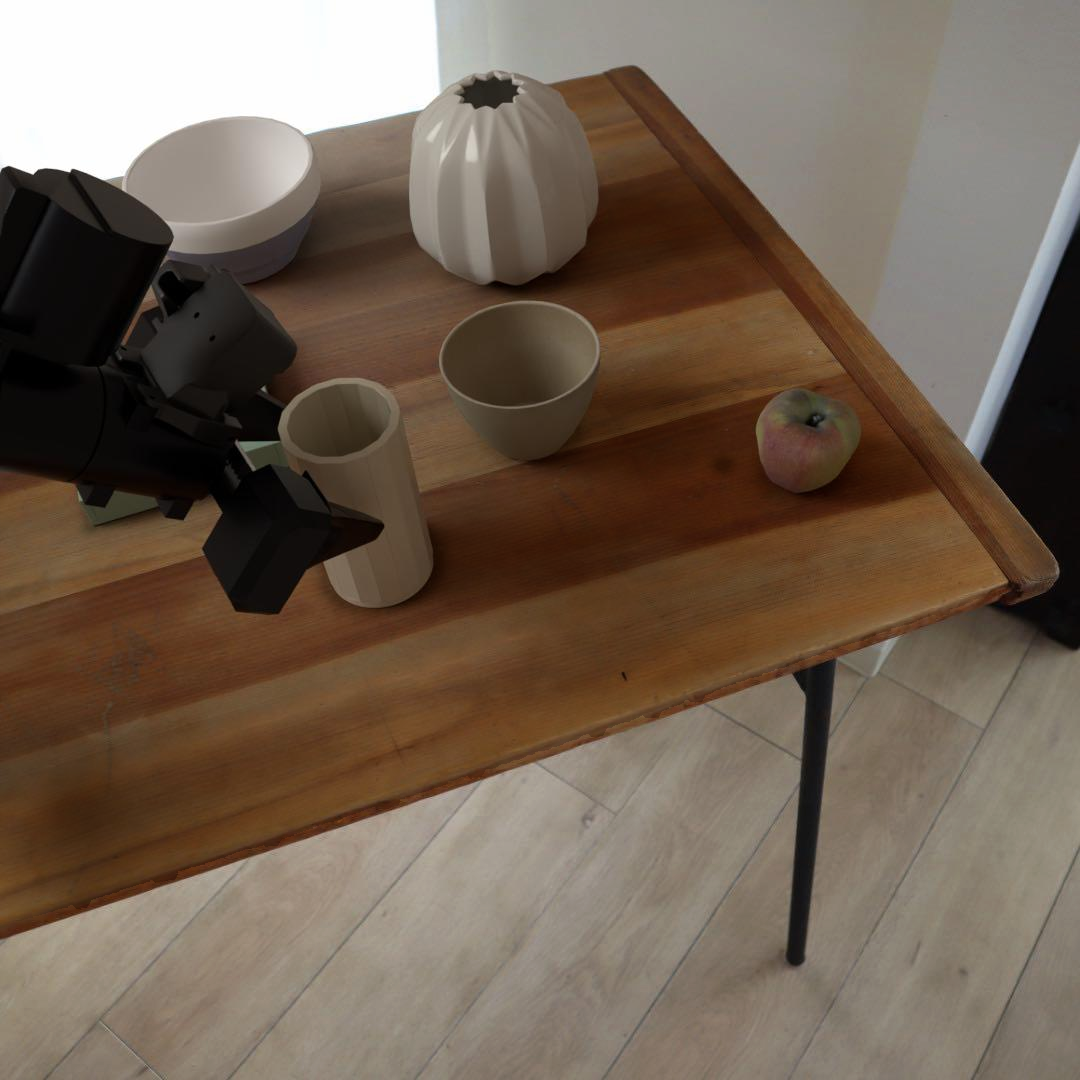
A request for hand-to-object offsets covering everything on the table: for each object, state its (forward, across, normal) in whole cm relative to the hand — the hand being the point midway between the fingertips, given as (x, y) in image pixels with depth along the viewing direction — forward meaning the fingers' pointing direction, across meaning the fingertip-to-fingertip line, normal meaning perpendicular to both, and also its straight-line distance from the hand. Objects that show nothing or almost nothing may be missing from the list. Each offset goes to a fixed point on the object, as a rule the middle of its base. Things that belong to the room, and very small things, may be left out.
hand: (342, 478), depth 65 cm
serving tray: (+2, +19, +10) cm, 21 cm away
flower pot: (+16, +4, -4) cm, 17 cm away
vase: (+22, +22, -10) cm, 33 cm away
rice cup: (+6, 0, +5) cm, 8 cm away
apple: (+24, -8, -12) cm, 28 cm away
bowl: (+10, +35, +2) cm, 36 cm away
